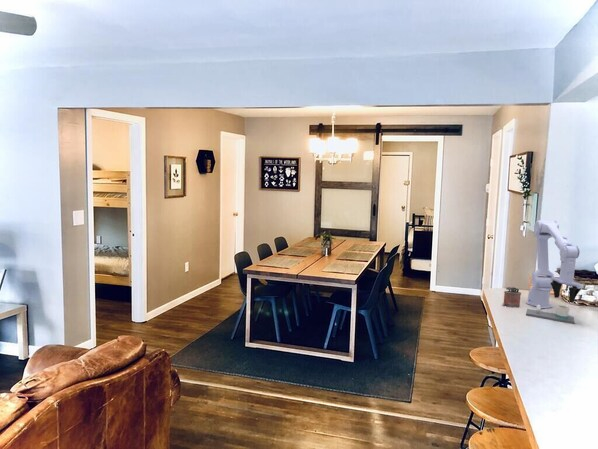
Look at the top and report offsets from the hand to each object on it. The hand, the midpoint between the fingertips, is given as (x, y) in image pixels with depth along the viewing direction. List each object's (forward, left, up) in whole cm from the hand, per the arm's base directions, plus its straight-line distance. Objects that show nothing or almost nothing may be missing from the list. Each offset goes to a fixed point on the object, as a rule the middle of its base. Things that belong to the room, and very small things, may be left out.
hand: (563, 299), depth 219 cm
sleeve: (0, 0, -8) cm, 8 cm away
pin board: (-4, -3, -9) cm, 11 cm away
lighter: (-23, -7, -10) cm, 26 cm away
